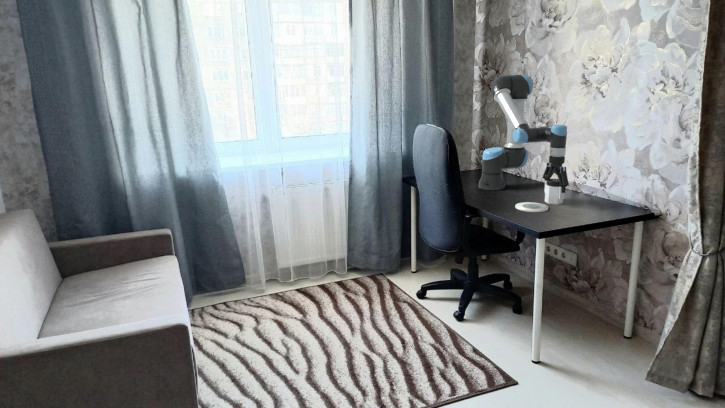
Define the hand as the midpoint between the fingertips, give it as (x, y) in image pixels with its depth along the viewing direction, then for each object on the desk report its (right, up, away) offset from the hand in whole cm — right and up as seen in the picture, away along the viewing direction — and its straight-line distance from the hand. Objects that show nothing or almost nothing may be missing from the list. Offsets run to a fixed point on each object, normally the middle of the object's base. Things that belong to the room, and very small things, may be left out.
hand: (554, 195), depth 258 cm
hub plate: (-14, -6, -8) cm, 17 cm away
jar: (0, -4, +1) cm, 4 cm away
